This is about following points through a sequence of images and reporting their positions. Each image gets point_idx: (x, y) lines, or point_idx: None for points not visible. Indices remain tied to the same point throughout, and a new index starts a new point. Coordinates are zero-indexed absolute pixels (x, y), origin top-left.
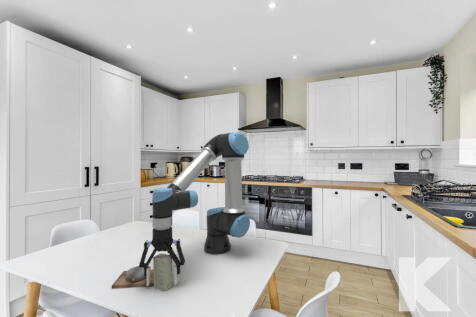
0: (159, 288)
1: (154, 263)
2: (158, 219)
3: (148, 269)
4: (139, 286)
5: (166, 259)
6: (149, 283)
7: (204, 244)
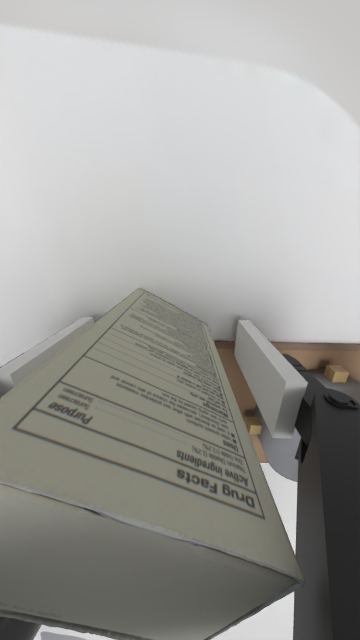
0: (176, 308)
1: (237, 441)
2: None
3: (285, 378)
4: (284, 343)
5: None
6: (237, 337)
7: None
